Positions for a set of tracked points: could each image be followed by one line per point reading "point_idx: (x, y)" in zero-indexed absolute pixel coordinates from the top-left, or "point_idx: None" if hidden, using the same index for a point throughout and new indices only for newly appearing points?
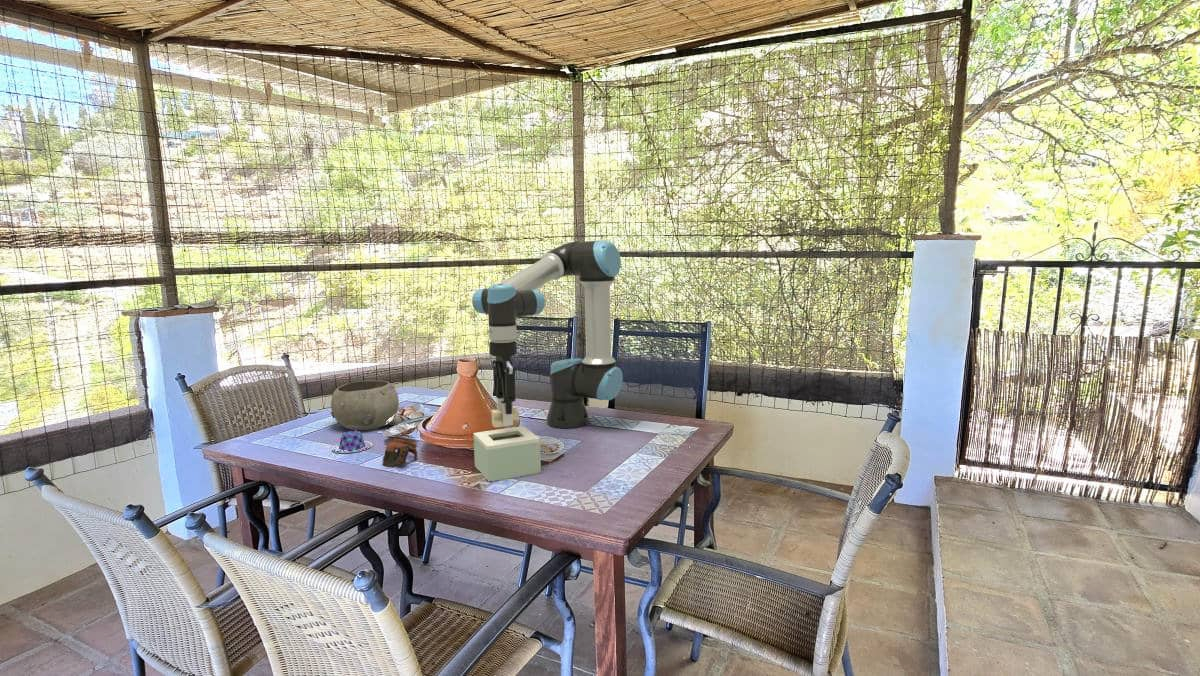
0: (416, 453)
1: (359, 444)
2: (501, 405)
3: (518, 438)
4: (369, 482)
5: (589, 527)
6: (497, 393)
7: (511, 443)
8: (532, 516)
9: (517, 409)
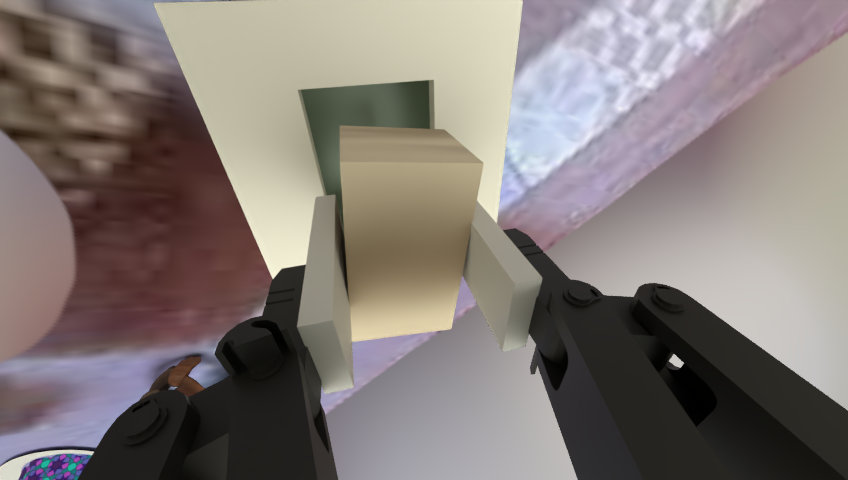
0: (190, 369)
1: (77, 472)
2: (345, 308)
3: (458, 128)
4: (343, 395)
5: (824, 32)
6: (332, 454)
7: (500, 174)
8: (681, 143)
9: (417, 163)
